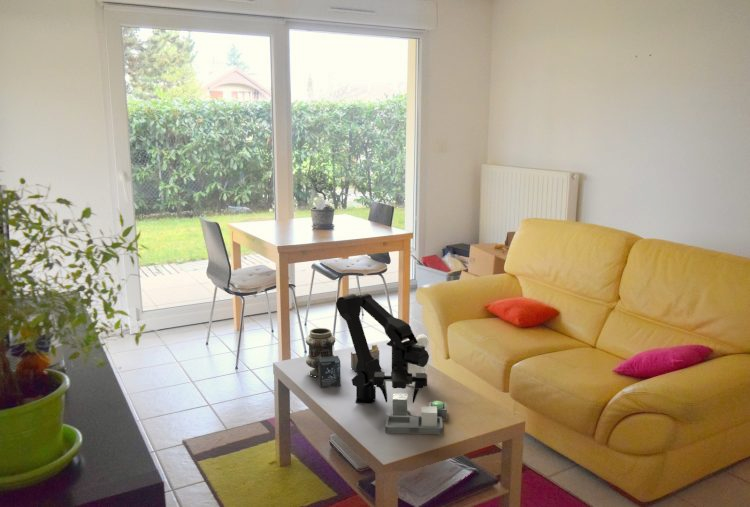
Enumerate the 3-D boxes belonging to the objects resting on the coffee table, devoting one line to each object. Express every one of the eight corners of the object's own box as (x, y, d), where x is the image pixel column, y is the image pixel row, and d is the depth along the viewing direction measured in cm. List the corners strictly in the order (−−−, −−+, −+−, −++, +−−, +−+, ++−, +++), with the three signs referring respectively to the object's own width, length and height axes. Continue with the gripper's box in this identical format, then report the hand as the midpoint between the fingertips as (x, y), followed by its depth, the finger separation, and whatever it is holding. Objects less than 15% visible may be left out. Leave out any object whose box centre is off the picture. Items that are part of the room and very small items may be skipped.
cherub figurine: (431, 386, 251) (433, 331, 246) (403, 392, 246) (404, 336, 241) (416, 374, 262) (417, 322, 257) (388, 380, 256) (388, 326, 252)
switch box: (429, 419, 223) (429, 409, 222) (428, 411, 229) (429, 402, 228) (446, 419, 223) (446, 409, 222) (446, 411, 229) (446, 402, 228)
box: (320, 388, 249) (320, 362, 247) (318, 382, 255) (317, 356, 253) (341, 386, 251) (340, 360, 249) (338, 380, 256) (338, 355, 254)
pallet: (385, 432, 214) (385, 414, 212) (386, 420, 222) (386, 402, 221) (442, 434, 212) (442, 415, 211) (441, 422, 221) (442, 404, 219)
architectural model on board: (377, 365, 273) (377, 343, 271) (379, 368, 270) (379, 346, 268) (350, 369, 269) (350, 346, 268) (352, 371, 267) (352, 349, 265)
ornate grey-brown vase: (339, 369, 268) (338, 326, 265) (331, 380, 257) (330, 336, 253) (311, 367, 271) (310, 325, 267) (302, 378, 259) (300, 334, 256)
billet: (392, 415, 226) (392, 399, 225) (393, 409, 231) (393, 393, 230) (407, 416, 226) (407, 399, 224) (407, 409, 231) (407, 393, 229)
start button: (432, 416, 224) (432, 405, 223) (432, 411, 228) (432, 400, 227) (443, 416, 224) (443, 405, 223) (443, 411, 227) (443, 401, 227)
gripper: (371, 367, 217) (371, 411, 220) (427, 369, 216) (426, 413, 219) (373, 355, 228) (373, 397, 231) (427, 357, 227) (426, 399, 230)
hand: (399, 402), depth 228 cm, fingers open, 9 cm apart
